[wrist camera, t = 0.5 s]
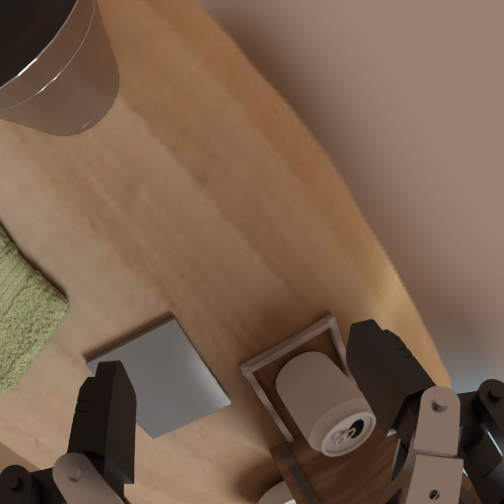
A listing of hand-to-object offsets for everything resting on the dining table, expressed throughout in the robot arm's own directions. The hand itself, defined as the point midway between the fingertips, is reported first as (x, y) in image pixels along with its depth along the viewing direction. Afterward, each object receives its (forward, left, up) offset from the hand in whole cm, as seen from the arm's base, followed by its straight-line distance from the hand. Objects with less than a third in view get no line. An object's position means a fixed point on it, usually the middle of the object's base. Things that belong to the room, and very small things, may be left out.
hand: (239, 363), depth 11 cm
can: (+21, +5, -21) cm, 30 cm away
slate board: (+13, -10, -20) cm, 26 cm away
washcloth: (-3, -22, -21) cm, 31 cm away
